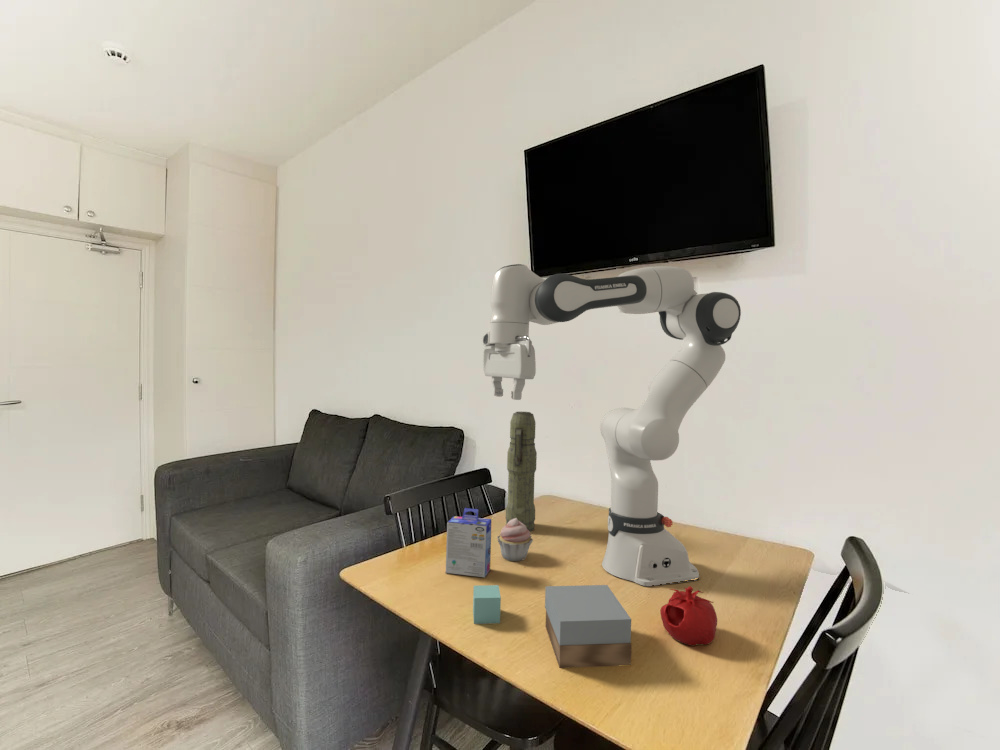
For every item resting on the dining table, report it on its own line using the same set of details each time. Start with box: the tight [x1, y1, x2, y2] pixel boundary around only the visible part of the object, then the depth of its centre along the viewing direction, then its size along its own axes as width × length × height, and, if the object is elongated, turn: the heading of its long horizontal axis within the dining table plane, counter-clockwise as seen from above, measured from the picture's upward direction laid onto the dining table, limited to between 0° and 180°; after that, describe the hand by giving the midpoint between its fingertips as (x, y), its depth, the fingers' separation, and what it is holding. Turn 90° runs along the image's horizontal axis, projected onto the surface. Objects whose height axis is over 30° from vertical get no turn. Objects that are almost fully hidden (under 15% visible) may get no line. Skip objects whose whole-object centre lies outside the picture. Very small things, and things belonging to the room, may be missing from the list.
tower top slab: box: [544, 584, 632, 646], centre depth 82 cm, size 12×12×4 cm
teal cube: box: [472, 584, 502, 625], centre depth 91 cm, size 5×5×5 cm
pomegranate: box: [660, 585, 718, 646], centre depth 86 cm, size 10×10×9 cm
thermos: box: [505, 411, 538, 532], centre depth 141 cm, size 9×12×35 cm
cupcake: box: [497, 518, 534, 562], centre depth 119 cm, size 9×9×10 cm
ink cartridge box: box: [445, 507, 492, 578], centre depth 110 cm, size 10×6×14 cm, turn 79°
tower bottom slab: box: [545, 610, 632, 669], centre depth 82 cm, size 12×12×4 cm
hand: (506, 397), depth 106 cm, fingers open, 8 cm apart
